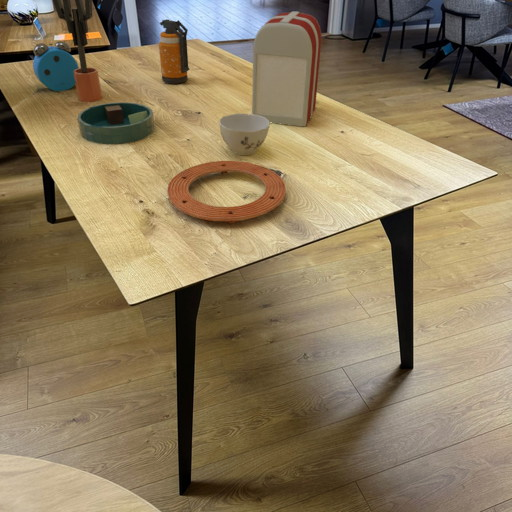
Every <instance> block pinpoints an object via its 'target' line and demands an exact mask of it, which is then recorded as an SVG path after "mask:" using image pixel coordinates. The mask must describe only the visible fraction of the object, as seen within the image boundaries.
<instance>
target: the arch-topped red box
mask: <svg viewBox="0 0 512 512" xmlns="http://www.w3.org/2000/svg"><path fill="white" fill-rule="evenodd" d="M321 50H322V31H321V27H320V24H319V22H318V20H317V19H316V17H314V16H313V15H311V14H308V13H302V12H300V11H294V10H293V11H291V12H290V11H289V12H281V13H278V14H275V16H273V17H271V18H270V19H268V20H267V21H266V22H265V23H264V24H263V25H262V26H261V27H260V28H259V29H258V31H257V33H256V35H255V37H254V41H253V46H252V95H251V97H252V98H251V99H252V100H251V114H255V115H260V116H262V117H265V118H266V119H267V120H269V122H272V123H281V124H288V125H287V126H289V125H297V126H296V127H298V126H306V125H307V126H308V124H309V122H310V120H311V119H310V117H311V116H312V117H313V114H314V112H315V110H316V105H317V95H318V82H319V81H318V80H319V72H320V71H319V70H320V61H321ZM314 109H315V110H314ZM313 111H314V112H313ZM312 113H313V114H312ZM312 117H311V118H312ZM309 119H310V120H309ZM308 121H309V122H308ZM272 123H271V124H272ZM307 123H308V124H307ZM281 124H280V125H281ZM307 126H306V127H307Z"/></svg>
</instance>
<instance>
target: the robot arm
mask: <svg viewBox="0 0 512 512" xmlns="http://www.w3.org/2000/svg"><path fill="white" fill-rule="evenodd" d="M74 2H75V7H76V8H77V10H78V14H79V18H80V20H79V22H78V26H79V31H80V36H81V41H82V46H84V47H86V46H87V45H88V44H89V43H88V38H87V34H88V33H89V26H88V20H90V19H92V18H93V0H84V2H83V0H74ZM52 3H53V5H54V7H55V11H56V14H57V17H58V19H60V20H64V21H65V22H66V27H67V31H68V33H69V34H71V37H72V42H73V46H74V47H77V40H76V34H75V27H74V21H73V15H72V4H71V0H52Z"/></svg>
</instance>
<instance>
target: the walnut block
mask: <svg viewBox="0 0 512 512" xmlns="http://www.w3.org/2000/svg"><path fill="white" fill-rule="evenodd" d="M105 112H106V118H107V121H108V123H109V124H110V125H114V124H121V123H124V119H123V112H122V109H121V107H120V106H119V105H114V106H106V107H105Z"/></svg>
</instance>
